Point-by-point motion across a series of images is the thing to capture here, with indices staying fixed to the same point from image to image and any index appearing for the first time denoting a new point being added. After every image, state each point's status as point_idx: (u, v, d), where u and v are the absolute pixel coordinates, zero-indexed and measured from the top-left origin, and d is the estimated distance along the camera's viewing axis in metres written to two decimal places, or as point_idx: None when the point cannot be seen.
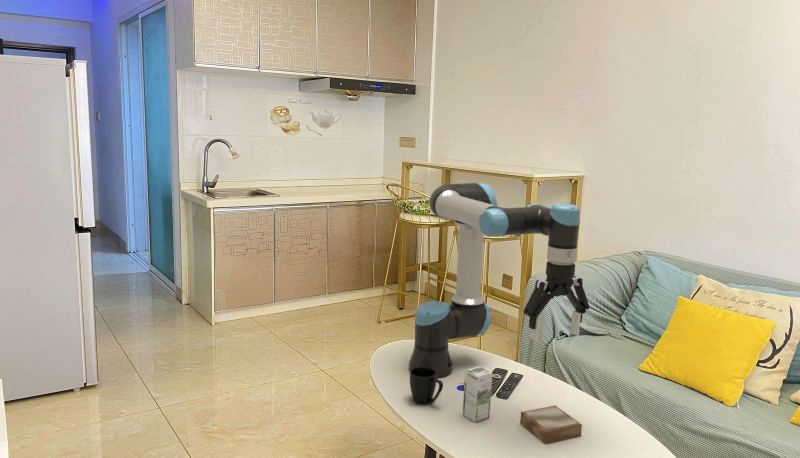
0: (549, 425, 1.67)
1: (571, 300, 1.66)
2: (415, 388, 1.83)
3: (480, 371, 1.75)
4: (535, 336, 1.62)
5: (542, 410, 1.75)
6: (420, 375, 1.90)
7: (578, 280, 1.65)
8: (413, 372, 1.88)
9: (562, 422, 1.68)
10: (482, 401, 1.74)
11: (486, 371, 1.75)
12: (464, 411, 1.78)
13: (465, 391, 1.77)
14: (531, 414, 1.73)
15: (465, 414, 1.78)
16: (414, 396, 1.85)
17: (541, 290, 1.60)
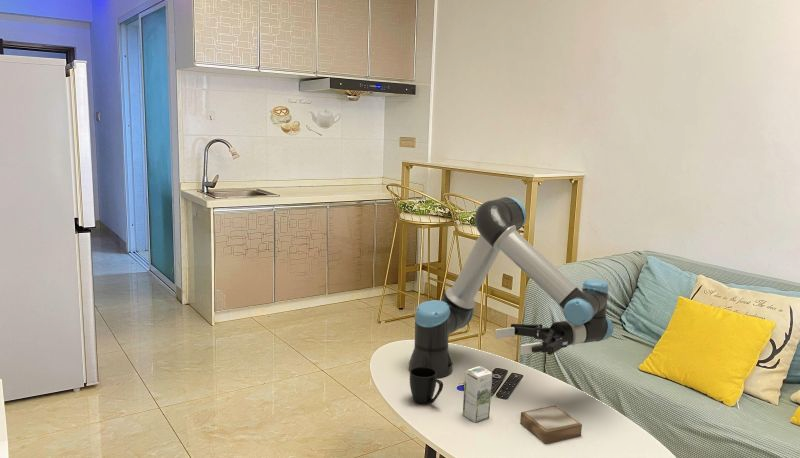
0: (549, 425, 1.67)
1: (527, 333, 1.86)
2: (415, 388, 1.83)
3: (480, 371, 1.75)
4: (526, 353, 1.72)
5: (542, 410, 1.75)
6: (420, 375, 1.90)
7: None
8: (413, 372, 1.88)
9: (562, 422, 1.68)
10: (482, 401, 1.74)
11: (486, 371, 1.75)
12: (464, 411, 1.78)
13: (465, 391, 1.77)
14: (531, 414, 1.73)
15: (465, 414, 1.78)
16: (414, 396, 1.85)
17: None
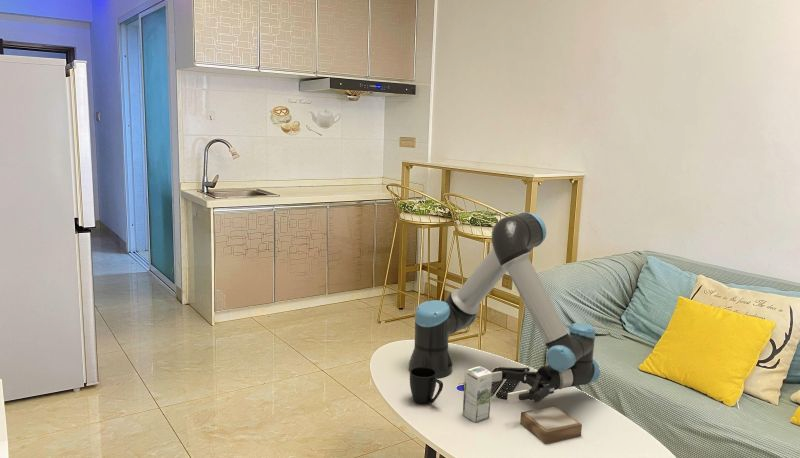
0: (549, 425, 1.67)
1: (515, 377, 1.86)
2: (415, 388, 1.83)
3: (480, 371, 1.75)
4: (513, 401, 1.73)
5: (542, 410, 1.75)
6: (420, 375, 1.90)
7: None
8: (413, 372, 1.88)
9: (562, 422, 1.68)
10: (482, 401, 1.74)
11: (486, 371, 1.75)
12: (464, 411, 1.78)
13: (465, 391, 1.77)
14: (531, 414, 1.73)
15: (465, 414, 1.78)
16: (414, 396, 1.85)
17: None
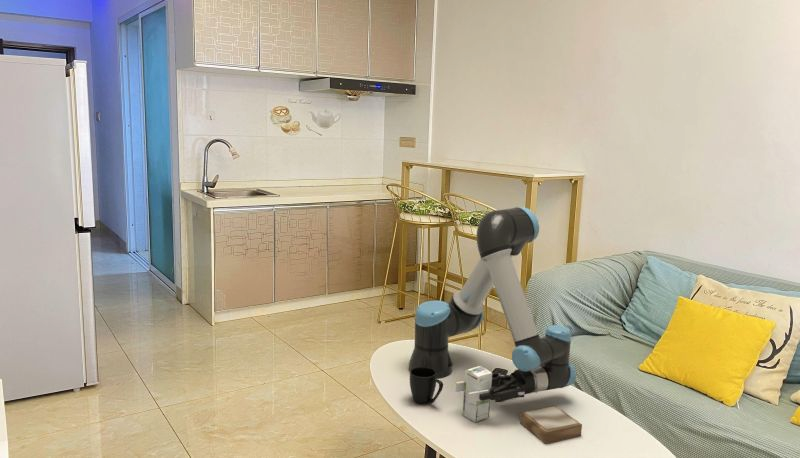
0: (549, 425, 1.67)
1: None
2: (415, 388, 1.83)
3: (480, 371, 1.75)
4: (473, 401, 1.72)
5: (542, 410, 1.75)
6: (420, 375, 1.90)
7: None
8: (413, 372, 1.88)
9: (562, 422, 1.68)
10: (482, 401, 1.74)
11: (486, 371, 1.75)
12: (464, 411, 1.78)
13: (465, 391, 1.77)
14: (531, 414, 1.73)
15: (465, 414, 1.78)
16: (414, 396, 1.85)
17: None
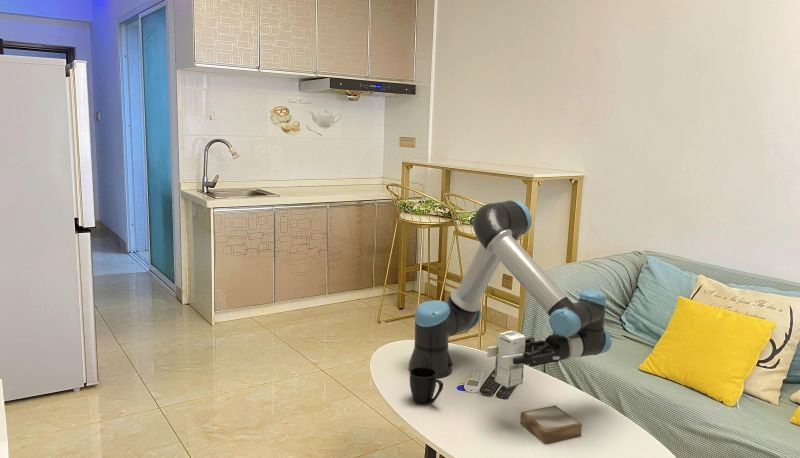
0: (549, 425, 1.67)
1: None
2: (415, 388, 1.83)
3: (513, 335, 1.69)
4: (506, 365, 1.66)
5: (542, 410, 1.75)
6: (420, 375, 1.90)
7: None
8: (413, 372, 1.88)
9: (562, 422, 1.68)
10: (515, 366, 1.68)
11: (519, 335, 1.69)
12: (496, 377, 1.71)
13: (497, 356, 1.71)
14: (531, 414, 1.73)
15: (497, 380, 1.71)
16: (414, 396, 1.85)
17: None
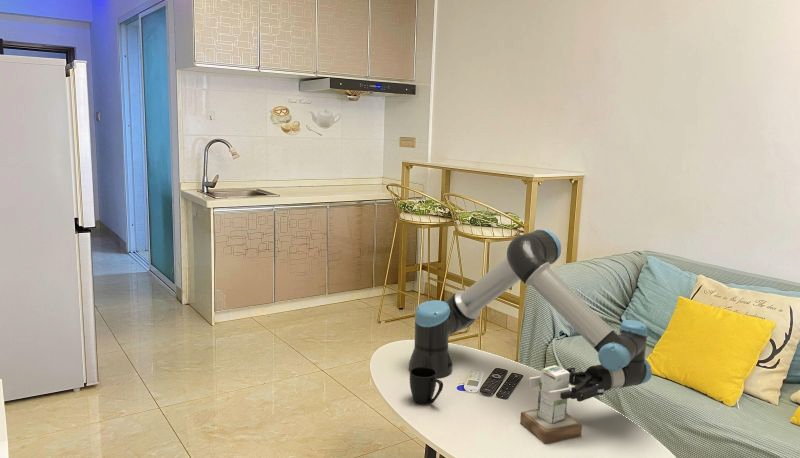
0: (549, 425, 1.67)
1: None
2: (415, 388, 1.83)
3: (557, 370, 1.68)
4: (554, 400, 1.64)
5: None
6: (420, 375, 1.90)
7: None
8: (413, 372, 1.88)
9: (562, 422, 1.68)
10: (559, 402, 1.67)
11: (563, 370, 1.68)
12: (539, 412, 1.70)
13: (540, 391, 1.69)
14: (531, 414, 1.73)
15: (540, 415, 1.70)
16: (414, 396, 1.85)
17: None
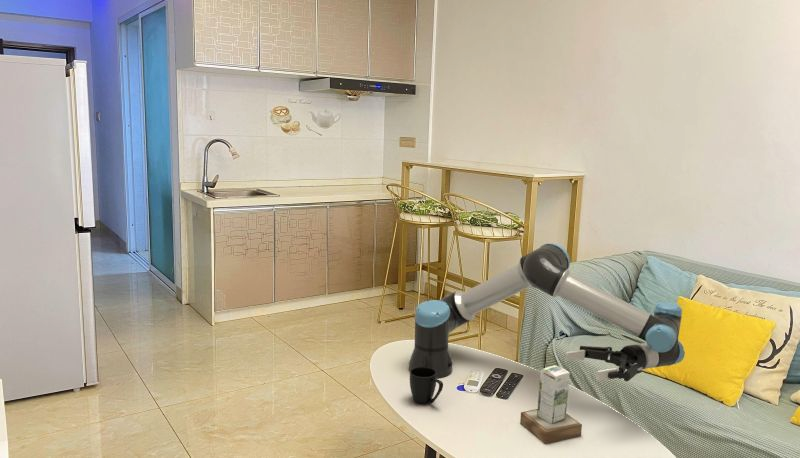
0: (549, 425, 1.67)
1: (598, 356, 1.81)
2: (415, 388, 1.83)
3: (557, 370, 1.68)
4: (602, 379, 1.67)
5: None
6: (420, 375, 1.90)
7: (610, 354, 1.84)
8: (413, 372, 1.88)
9: (562, 422, 1.68)
10: (559, 402, 1.67)
11: (563, 370, 1.68)
12: (539, 412, 1.70)
13: (540, 391, 1.69)
14: (531, 414, 1.73)
15: (540, 415, 1.70)
16: (414, 396, 1.85)
17: None
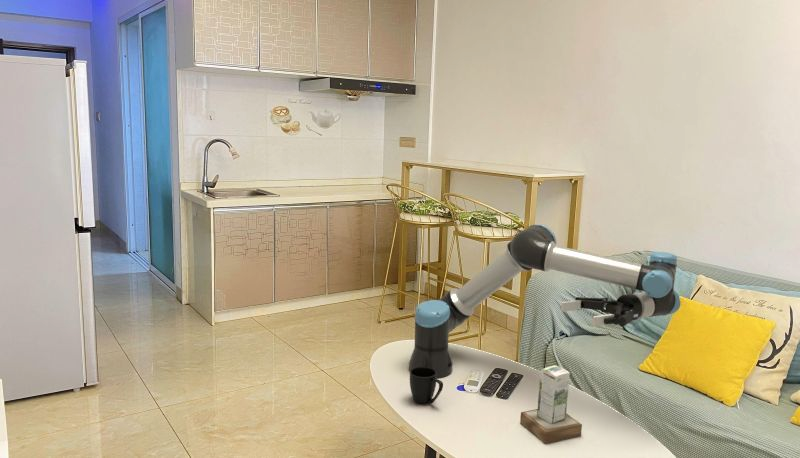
0: (549, 425, 1.67)
1: (594, 306, 1.81)
2: (415, 388, 1.83)
3: (557, 370, 1.68)
4: (598, 325, 1.67)
5: None
6: (420, 375, 1.90)
7: None
8: (413, 372, 1.88)
9: (562, 422, 1.68)
10: (559, 402, 1.67)
11: (563, 370, 1.68)
12: (539, 412, 1.70)
13: (540, 391, 1.69)
14: (531, 414, 1.73)
15: (540, 415, 1.70)
16: (414, 396, 1.85)
17: None
